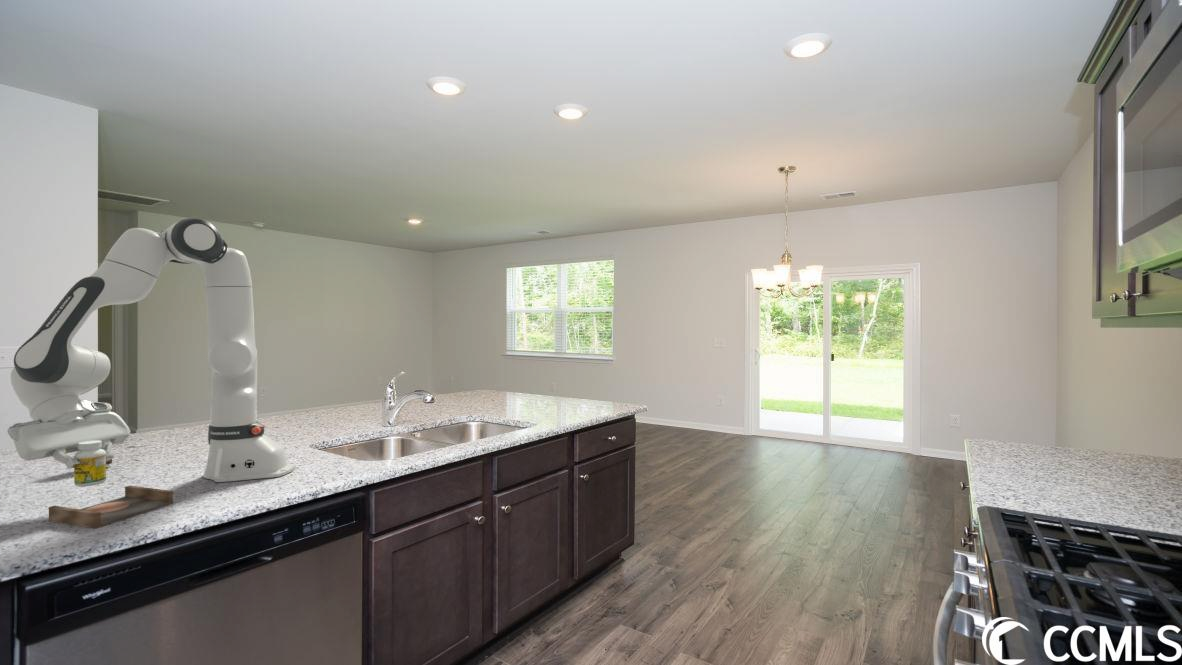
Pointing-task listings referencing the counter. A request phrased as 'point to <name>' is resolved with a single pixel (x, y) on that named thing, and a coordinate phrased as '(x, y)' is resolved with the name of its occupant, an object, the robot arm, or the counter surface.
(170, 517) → the counter surface
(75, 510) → the walled bay
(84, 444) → the supplement bottle
